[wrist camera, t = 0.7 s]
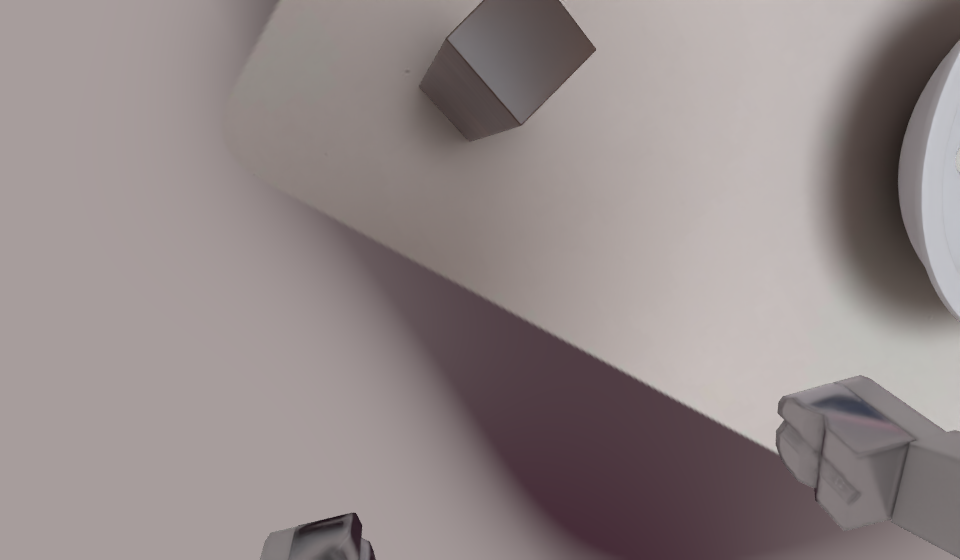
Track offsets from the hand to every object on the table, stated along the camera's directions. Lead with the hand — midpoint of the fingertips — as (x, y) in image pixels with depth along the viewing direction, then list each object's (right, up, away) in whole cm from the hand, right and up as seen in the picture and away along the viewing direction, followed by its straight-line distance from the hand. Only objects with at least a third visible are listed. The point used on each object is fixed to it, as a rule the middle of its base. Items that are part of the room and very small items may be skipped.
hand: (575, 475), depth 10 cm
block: (-2, +14, +18) cm, 23 cm away
